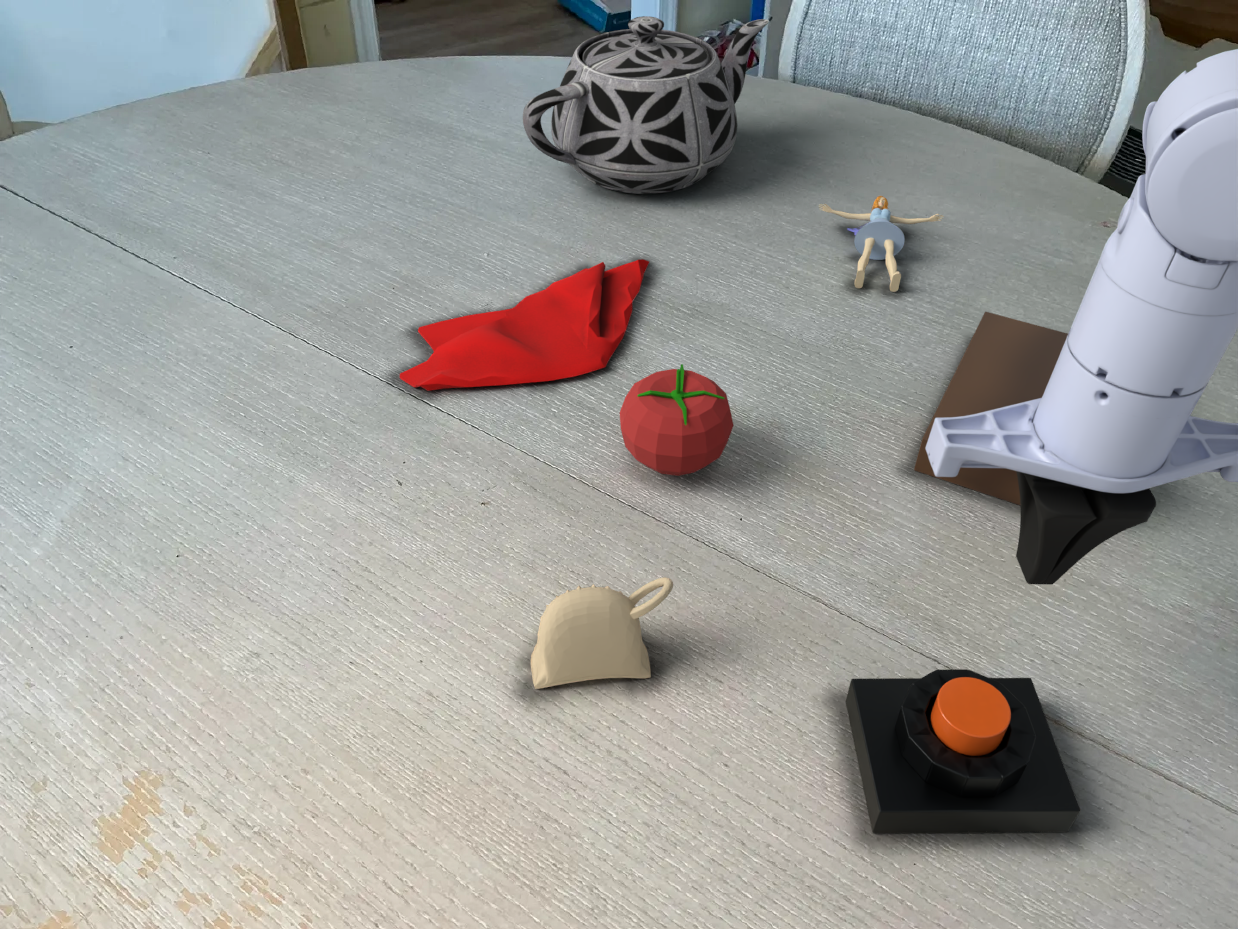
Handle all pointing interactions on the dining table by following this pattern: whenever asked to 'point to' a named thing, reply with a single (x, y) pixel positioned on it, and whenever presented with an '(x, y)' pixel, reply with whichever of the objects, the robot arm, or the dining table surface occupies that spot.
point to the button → (970, 716)
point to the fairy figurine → (879, 238)
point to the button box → (956, 762)
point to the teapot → (644, 107)
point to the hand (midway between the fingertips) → (1034, 569)
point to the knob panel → (996, 389)
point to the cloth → (534, 334)
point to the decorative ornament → (594, 635)
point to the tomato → (676, 421)
